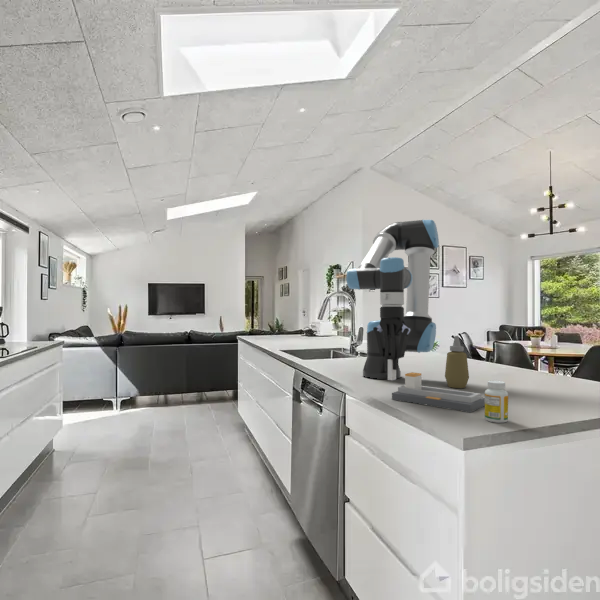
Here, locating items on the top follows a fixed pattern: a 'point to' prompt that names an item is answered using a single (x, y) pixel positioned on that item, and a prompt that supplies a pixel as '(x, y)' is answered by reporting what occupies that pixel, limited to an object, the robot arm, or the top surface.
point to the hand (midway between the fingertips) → (391, 379)
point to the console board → (441, 398)
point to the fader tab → (413, 380)
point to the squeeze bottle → (456, 366)
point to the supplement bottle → (496, 402)
